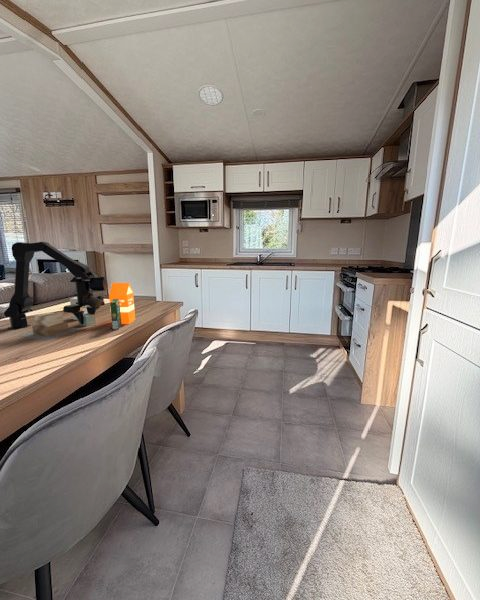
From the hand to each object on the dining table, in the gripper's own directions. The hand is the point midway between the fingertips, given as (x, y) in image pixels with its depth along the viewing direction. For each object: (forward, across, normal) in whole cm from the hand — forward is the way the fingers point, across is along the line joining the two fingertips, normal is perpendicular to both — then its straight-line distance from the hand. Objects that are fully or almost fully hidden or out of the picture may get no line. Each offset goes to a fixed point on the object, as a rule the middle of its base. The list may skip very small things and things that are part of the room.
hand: (87, 322), depth 130 cm
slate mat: (+1, -15, +4) cm, 16 cm away
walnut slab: (+1, -15, +4) cm, 16 cm away
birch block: (-3, -15, +4) cm, 16 cm away
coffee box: (+1, +1, -17) cm, 17 cm away
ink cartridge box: (+1, +9, +13) cm, 16 cm away
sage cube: (+1, 0, 0) cm, 1 cm away
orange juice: (+1, +10, -13) cm, 16 cm away
